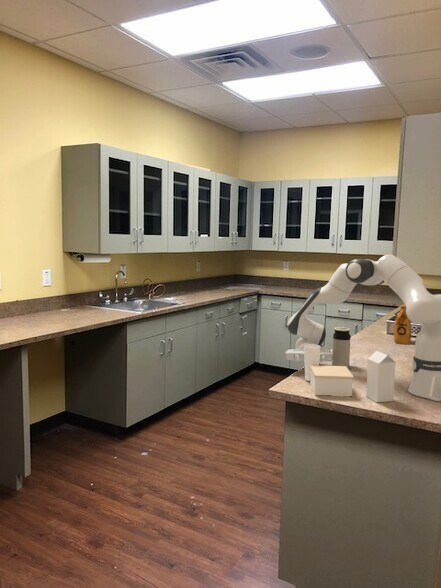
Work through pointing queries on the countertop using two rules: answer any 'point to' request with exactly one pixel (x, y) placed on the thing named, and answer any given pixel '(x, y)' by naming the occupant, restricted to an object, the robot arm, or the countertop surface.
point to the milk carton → (380, 377)
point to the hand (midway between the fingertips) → (310, 359)
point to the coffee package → (402, 327)
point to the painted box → (331, 380)
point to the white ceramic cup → (311, 358)
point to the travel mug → (341, 347)
